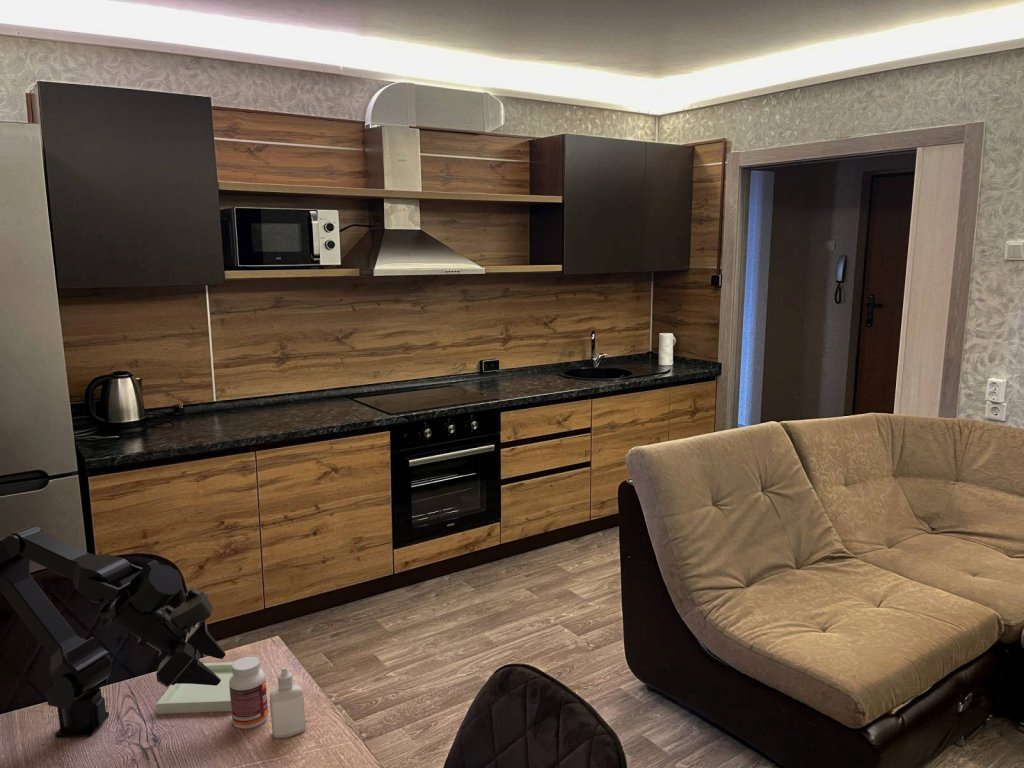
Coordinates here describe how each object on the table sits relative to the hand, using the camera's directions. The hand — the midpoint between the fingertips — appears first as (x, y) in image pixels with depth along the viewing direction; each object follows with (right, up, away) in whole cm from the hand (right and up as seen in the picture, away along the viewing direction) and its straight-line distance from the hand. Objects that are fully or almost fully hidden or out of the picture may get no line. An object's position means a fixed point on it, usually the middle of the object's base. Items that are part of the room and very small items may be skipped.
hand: (221, 669), depth 132 cm
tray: (-7, -9, +13) cm, 17 cm away
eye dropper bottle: (+12, -11, -1) cm, 16 cm away
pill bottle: (+4, -10, +3) cm, 12 cm away
